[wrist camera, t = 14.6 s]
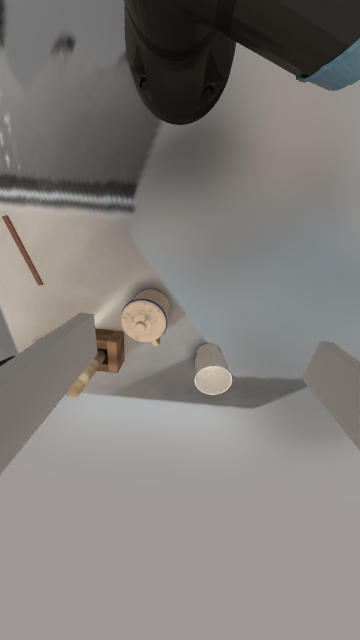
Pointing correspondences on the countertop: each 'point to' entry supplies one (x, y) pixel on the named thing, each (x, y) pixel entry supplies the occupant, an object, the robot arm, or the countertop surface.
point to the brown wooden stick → (22, 249)
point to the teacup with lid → (146, 316)
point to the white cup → (211, 370)
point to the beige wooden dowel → (87, 373)
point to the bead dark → (111, 349)
